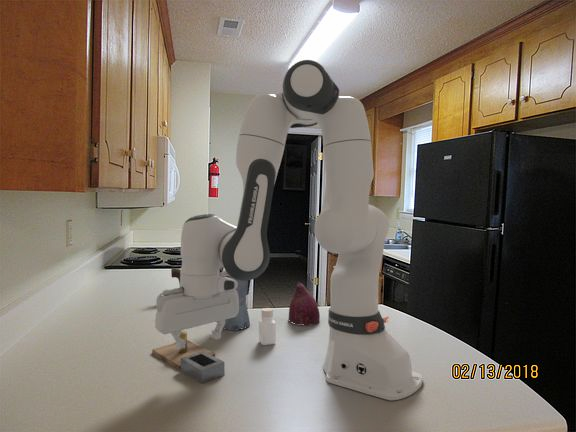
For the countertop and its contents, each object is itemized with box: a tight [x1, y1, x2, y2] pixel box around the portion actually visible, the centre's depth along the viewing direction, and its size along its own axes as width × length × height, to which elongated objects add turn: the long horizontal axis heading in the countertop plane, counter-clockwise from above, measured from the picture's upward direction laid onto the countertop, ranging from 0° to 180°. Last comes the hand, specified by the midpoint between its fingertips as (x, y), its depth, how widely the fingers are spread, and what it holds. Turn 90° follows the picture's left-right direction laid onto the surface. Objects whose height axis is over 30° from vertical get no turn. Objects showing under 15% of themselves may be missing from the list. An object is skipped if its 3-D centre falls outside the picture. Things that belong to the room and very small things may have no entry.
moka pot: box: [220, 270, 252, 331], centre depth 121 cm, size 10×15×20 cm, turn 152°
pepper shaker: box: [258, 307, 277, 346], centre depth 106 cm, size 4×4×10 cm
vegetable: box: [288, 281, 321, 326], centre depth 125 cm, size 10×10×15 cm
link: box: [180, 351, 226, 384], centre depth 88 cm, size 9×6×3 cm, turn 45°
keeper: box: [151, 330, 216, 371], centre depth 98 cm, size 14×10×6 cm
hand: (199, 343), depth 89 cm, fingers open, 8 cm apart
